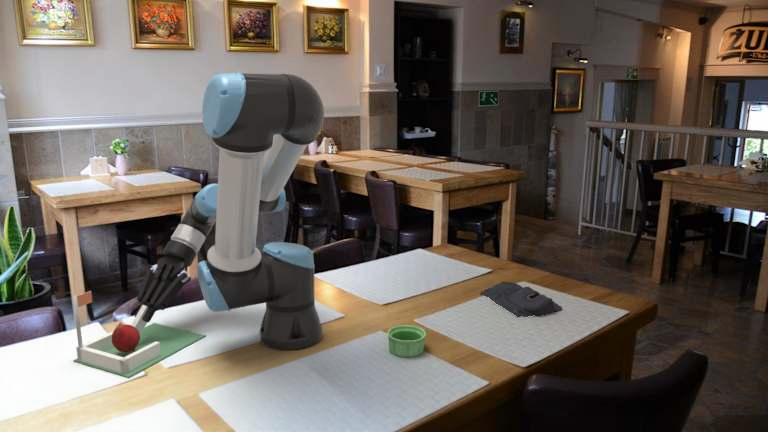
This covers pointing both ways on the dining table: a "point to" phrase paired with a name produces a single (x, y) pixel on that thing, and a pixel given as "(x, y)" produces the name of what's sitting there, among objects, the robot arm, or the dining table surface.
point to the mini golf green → (108, 346)
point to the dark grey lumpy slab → (521, 300)
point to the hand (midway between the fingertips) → (133, 332)
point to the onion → (125, 337)
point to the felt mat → (166, 335)
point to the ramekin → (406, 340)
